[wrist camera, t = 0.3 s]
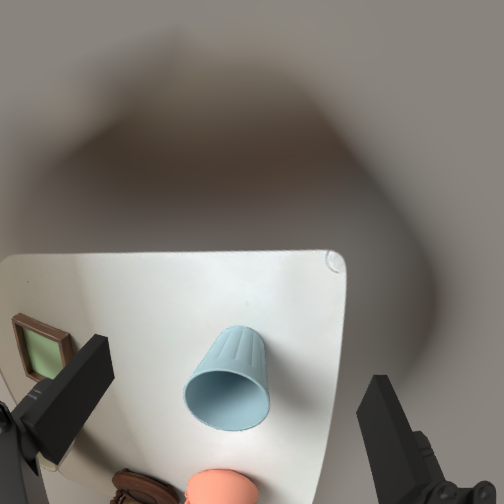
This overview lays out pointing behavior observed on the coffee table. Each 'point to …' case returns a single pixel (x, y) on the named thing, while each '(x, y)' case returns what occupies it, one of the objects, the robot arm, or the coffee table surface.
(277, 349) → the coffee table surface
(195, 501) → the sugar bowl
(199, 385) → the cup
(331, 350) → the coffee table surface
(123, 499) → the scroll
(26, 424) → the robot arm
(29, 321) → the wooden serving tray
